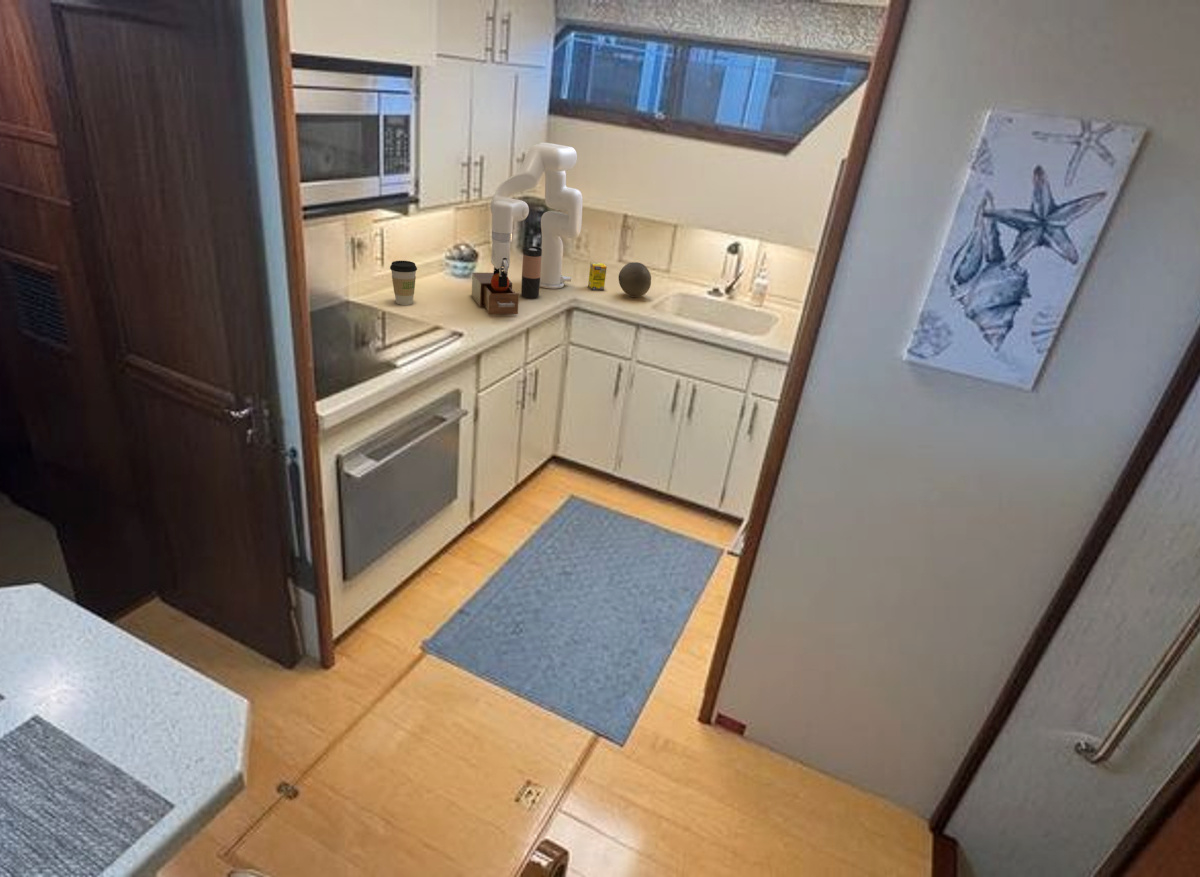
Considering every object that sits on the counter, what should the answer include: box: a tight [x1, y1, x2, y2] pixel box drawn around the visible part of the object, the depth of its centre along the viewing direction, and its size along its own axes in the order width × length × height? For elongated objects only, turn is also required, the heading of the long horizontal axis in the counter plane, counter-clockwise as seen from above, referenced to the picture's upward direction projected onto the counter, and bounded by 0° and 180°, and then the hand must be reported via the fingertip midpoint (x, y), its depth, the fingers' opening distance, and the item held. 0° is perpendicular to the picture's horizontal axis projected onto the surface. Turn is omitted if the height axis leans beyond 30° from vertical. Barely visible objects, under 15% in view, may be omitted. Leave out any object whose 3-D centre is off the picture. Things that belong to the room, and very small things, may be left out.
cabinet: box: [471, 272, 513, 308], centre depth 275 cm, size 15×13×10 cm
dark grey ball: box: [618, 262, 652, 298], centre depth 301 cm, size 14×14×15 cm
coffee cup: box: [389, 260, 418, 306], centre depth 261 cm, size 10×10×15 cm
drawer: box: [482, 285, 520, 315], centre depth 264 cm, size 18×11×8 cm, turn 22°
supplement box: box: [587, 262, 607, 292], centre depth 308 cm, size 6×6×11 cm
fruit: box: [491, 273, 510, 292], centre depth 263 cm, size 7×7×8 cm
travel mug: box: [520, 245, 542, 300], centre depth 285 cm, size 8×8×20 cm
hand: (500, 283), depth 263 cm, fingers closed on fruit, 7 cm apart
